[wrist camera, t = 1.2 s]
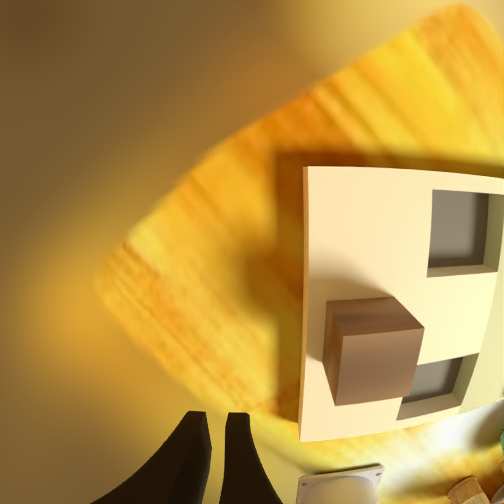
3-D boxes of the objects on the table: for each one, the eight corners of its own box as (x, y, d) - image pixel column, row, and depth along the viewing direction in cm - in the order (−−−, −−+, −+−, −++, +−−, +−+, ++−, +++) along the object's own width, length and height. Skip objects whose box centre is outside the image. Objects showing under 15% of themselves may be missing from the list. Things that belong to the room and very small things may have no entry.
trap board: (503, 383, 21) (521, 403, 17) (297, 423, 21) (301, 457, 18) (543, 185, 16) (572, 190, 13) (302, 167, 17) (312, 165, 14)
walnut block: (385, 356, 18) (408, 395, 14) (322, 362, 18) (334, 406, 14) (394, 296, 17) (424, 328, 13) (326, 300, 17) (343, 336, 13)
